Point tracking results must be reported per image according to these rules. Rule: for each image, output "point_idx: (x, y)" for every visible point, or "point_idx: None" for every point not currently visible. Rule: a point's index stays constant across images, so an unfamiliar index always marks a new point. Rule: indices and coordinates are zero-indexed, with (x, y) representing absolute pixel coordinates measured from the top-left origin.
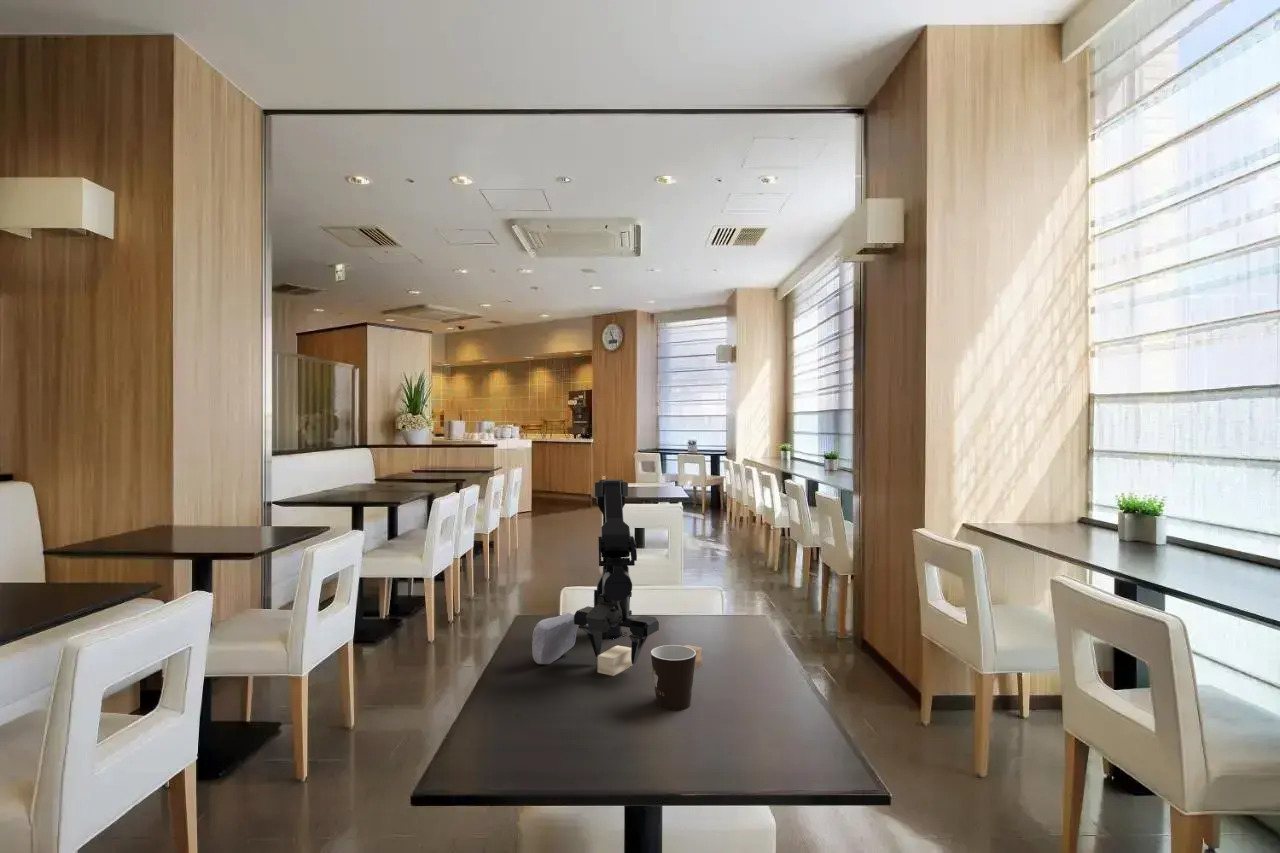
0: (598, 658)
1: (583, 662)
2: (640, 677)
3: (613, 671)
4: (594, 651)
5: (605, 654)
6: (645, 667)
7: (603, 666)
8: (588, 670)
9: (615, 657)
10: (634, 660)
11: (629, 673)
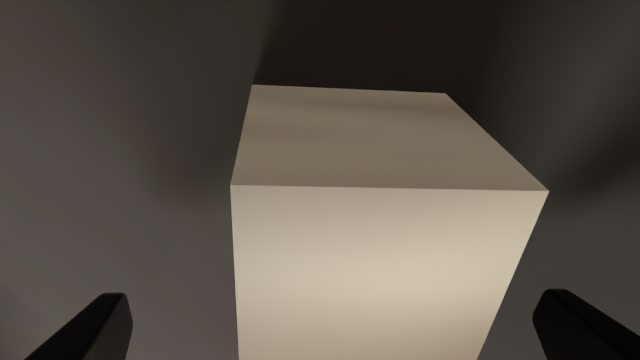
0: (511, 168)
1: (634, 244)
2: (19, 191)
3: (248, 106)
4: (616, 325)
5: (444, 277)
6: (150, 353)
7: (396, 123)
8: (555, 120)
9: (244, 251)
10: (68, 332)
11: (173, 222)
